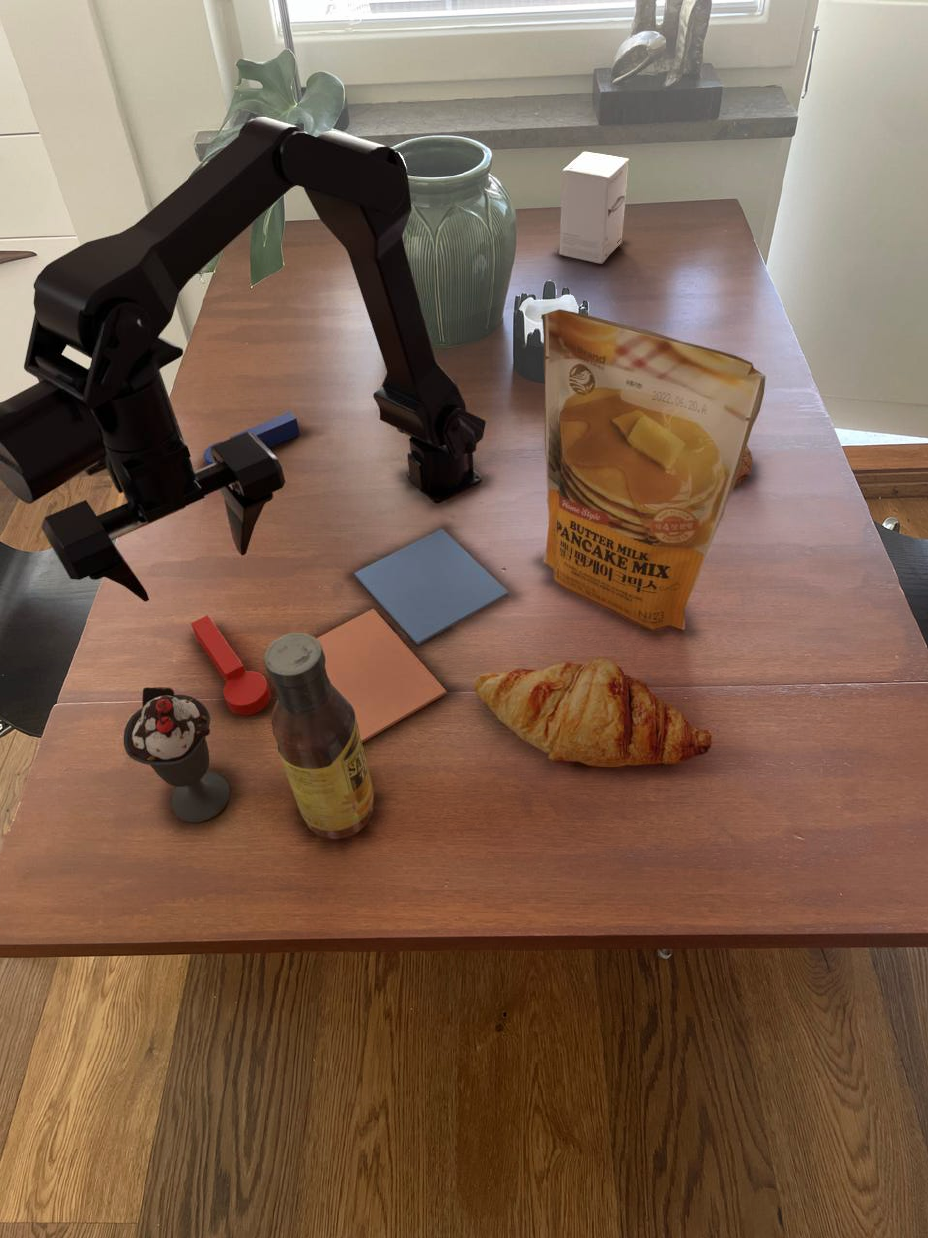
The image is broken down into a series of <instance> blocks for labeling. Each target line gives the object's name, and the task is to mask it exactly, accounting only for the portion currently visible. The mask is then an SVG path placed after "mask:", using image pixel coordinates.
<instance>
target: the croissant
mask: <svg viewBox="0 0 928 1238" xmlns="http://www.w3.org/2000/svg"><path fill="white" fill-rule="evenodd" d="M647 684H648V683H646V682H645V681H643V680H641V679H638V678H635V677H633V676H630V675H629V674H626V673H625V672H624V670H623V669H622V667H621V666H619V664H618V663H616V662H615V661H614V660H611V659H610V658H609V659H608V658H605V657H598V658H597V659H592V660H590V661H589V662H588V663H586V664H584V665H583V663H577V662H576V663H575V662H572V661H568V662H567V661H566V662H565V663H563V662H562V663H561V662H558V663H556V664H553V665H551V666H549V667H547V668H545V669H527V668H526V669H525V668H516V669H512V670H507V671H505V672H502V673H501V674H499V673H495V672H489V673H483V674H480V675H479V676H478V677H476V678H475V680H474V689H475V692H476V694H477V696H478V698H479V699H480V700H481V701H482V702H483V704H484V705H486V706H487V707H488V708H489V709H490V710H491V711H492V712H493V714H494V715H495V717H496V718H497V719H498V720H499V721H500V722H501V723H502V724H503V725H505V726H506V727H508V729H509V730H510V731H511V732H513V733H515V734H516V735H517V736H518V737H519V738H520V739H521V740H523V741H524V742H527V743H529V744H530V745H532V746H534V747H535V748H537V749H539V750H540V751H542V752H544V753H546V754H548V759H549V760H550V761H552V762H554V761H563V762H572V763H574V762H578V763H581V764H584V765H586V766H591V767H597V768H598V767H601V768H619V767H623V766H641V765H657V764H664V765H670V764H678V763H682V762H685V761H688V760H690V759H692V758H696V757H698V756H702V755H705V754H707V753H708V752H709V751H710V749H711V748H712V746H713V740H712V739H713V735H712V733H711V732H709V730H708V729H701V728H699V727H696V726H693V725H691V724H690V722H689V720H688V719H687V716H686V714H684V713H683V712H680V711H679V710H678V709H677V707H676V706H675V707H673V706H671V705H670V704H669V703H666V702H665V701H664V700H663V699H662V698H659V697H657V696H656V695H654V693H652V691H651V690H650V689H649V687H647Z"/></svg>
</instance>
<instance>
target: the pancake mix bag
mask: <svg viewBox="0 0 928 1238" xmlns="http://www.w3.org/2000/svg"><path fill="white" fill-rule="evenodd" d="M540 316H541V320H542V331H543V332H542V333H543V362H542V363H543V366H542V367H543V374H544V402H543V404H544V405H543V406H544V407H543V413H544V456H545V463H546V484H547V485H546V487H547V500H546V501H547V508H548V528H547V535H546V536H547V537H546V546H545V552H544V555H543V558H542V562H543V563H544V564H545V565H547V566H548V567H549V568H551V569H552V570H553V581H554V582H555V583H556V584H558V585H559V586H560V587H561V588H563V589H565V590H566V591H569V592H571V593H573V594H574V595H577V596H579V597H581V598H582V599H585V600H586V601H588V602H591V603H593V604H594V605H597V606H598V607H601V608H602V609H605V610H607V611H609V612H612V613H614V614H616V615H618V616H619V617H621V618H623V619H625V620H627V621H629V622H631V623H633V624H635V625H636V626H640V627H642V628H644V629H647V630H649V631H652V632H655V633H656V632H659V631H662V630H664V629H667V628H669V627H670V628H674V629H678V630H683V631H686V615H685V608H686V606H687V604H688V603H689V600H690V598H691V595H692V594H693V591H694V589H695V586H696V585H697V582H698V580H699V578H700V575H701V571H702V569H703V566H704V563H705V560H706V558H707V554H708V553H709V550H710V547H711V545H712V543H713V540H714V538H715V535H716V532H717V530H718V528H719V526H720V523H721V521H722V518H723V516H724V513H725V510H726V505H727V503H728V501H729V499H730V497H731V495H732V493H733V491H734V489H735V486H736V485H735V482H736V479H737V476H738V472H739V469H740V465H741V462H742V459H743V456H744V452H745V449H746V446H748V442H749V439H750V436H751V433H752V429H753V427H754V424H755V423H756V420H757V419H758V415H759V414H760V411H761V407H762V403H763V399H764V394H765V387H766V375H765V374H764V373H762V372H760V371H759V370H757V369H756V368H755V366H754V364H753V362H752V361H748V360H747V359H744V358H742V357H740V356H737V355H736V354H732V353H728V352H725V351H721V350H719V349H713V348H710V347H706V346H703V345H699V344H695V343H690V342H687V341H682V340H680V339H676V338H673V337H670V336H667V335H664V334H661V333H658V332H655V331H652V330H649V329H645V328H641V327H637V326H633V325H630V324H625V323H621V322H618V321H617V322H616V321H612V320H608V319H605V318H600V317H596V316H592V315H588V314H584V313H579V312H575V311H570V310H567V309H560V308H559V309H555V310H553V311H550V312H546V313H543V314H541V315H540Z"/></svg>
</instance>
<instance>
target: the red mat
mask: <svg viewBox="0 0 928 1238" xmlns="http://www.w3.org/2000/svg"><path fill="white" fill-rule="evenodd" d="M316 639H317V640H318V641H319V643H320V644H321V646H322V649H323V652H324V655H325V660H326V663H325V669H326V673H327V676H328V678H329V680H330V683H331V684H332V685H333V686H334V687H335V688H336V689H337V690H338V691H339V693H340V694H341V695H342V696H343V697H344V698H345V699H346V700H347V701H348V702H349V703H350V704H351V705H352V707H353V709H354V712H355V716H356V720H357V724H358V728H359V732H360V736H361V740H362V744H363V743H365V742H366V741H368V740H369V739H371V738H373V737H374V736H377V735H379V734H380V733H382V732H383V731H385V730H387V729H389V728H390V727H392V726H394V725H395V724H397V723H399V722H400V721H402V720H404V719H406V718H407V717H409V716H410V715H413V714H414V713H415V712H418V711H419V710H421V709H422V708H425V707H426V706H428V705H429V704H432V702H435V701H436V700H438V699H440V698H441V697H443V696H445V695H446V694H447V690H446V689H445V688H444V687H443V685H442V684H441V683H440V682H439V680H437V678H436V677H435V676H434V675H433V674H432V673H431V672H430V671H429V670H428V668H427V667H426V666H425V665H424V664H423V663H422V662H421V660H420V659H419V658H418V657H417V656H416V655H415V654H414V653H413V651H412V650H411V649H410V648H409V647H408V646H407V645H406V643H405V642H404V641H403V640H402V639H401V637H399V635H397V634H396V632H395V631H394V630H393V629H392V627H390V625H388V623H387V622H386V621H385V620H384V619H383V618H382V616H380V614H379V613H378V612H377V611H376V610H375V608H372V609H370V610H368V611H366V612H364V613H362V614H360V615H358V616H356V617H354V618H352V619H351V620H348V621H347V622H345V623H343V624H341V625H339V626H337V627H335V628H333V629H332V630H330V631H327V632H326V633H324V634H322V635H320V636H319V637H316Z"/></svg>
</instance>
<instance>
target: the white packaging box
mask: <svg viewBox="0 0 928 1238" xmlns="http://www.w3.org/2000/svg"><path fill="white" fill-rule="evenodd" d="M628 171H629V158H626V157H621V156H620V157H619V156H613V155H608V154H602V153H595V152H589V151H583V152H582V153H580V154H579V155H578V156H577V157H576V158H575V159H574V160H572V161H571V162H570V163H569V164H568V165H567V166H566V167H565V168H563V169H562V171H561V175H562V176H561V196H560V198H561V199H560V200H561V201H560V227H559V229H560V231H559V252H558V253H559V255H560V256H564V257H568V258H573V259H577V260H582V261H585V262H586V261H587V262H591V263H595V264H600V265H603V263H604V262H605V261H606V260H607V259H608V257H610V255H611V254H612V253H613V252H614V251H616V250H617V248H618V247H619V246H620V245H621V244H622V241H623V232H624V221H625V220H624V219H625V207H626V196H627V184H628ZM621 238H622V239H621ZM620 239H621V240H620ZM619 240H620V241H619ZM618 241H619V242H618ZM617 242H618V243H617ZM606 254H607V255H606ZM588 255H589V256H588ZM605 255H606V256H605Z"/></svg>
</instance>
